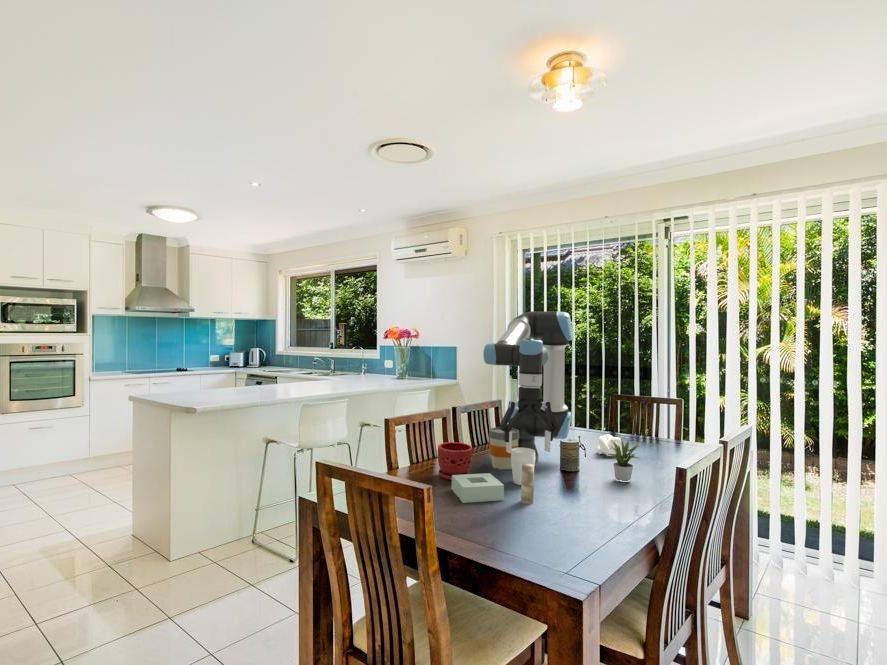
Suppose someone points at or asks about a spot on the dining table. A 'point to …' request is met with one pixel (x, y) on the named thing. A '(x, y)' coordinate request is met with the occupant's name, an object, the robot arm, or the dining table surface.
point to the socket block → (477, 487)
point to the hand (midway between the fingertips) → (528, 451)
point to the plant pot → (454, 459)
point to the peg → (527, 483)
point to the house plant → (623, 461)
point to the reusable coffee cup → (501, 448)
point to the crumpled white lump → (605, 447)
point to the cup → (521, 461)
